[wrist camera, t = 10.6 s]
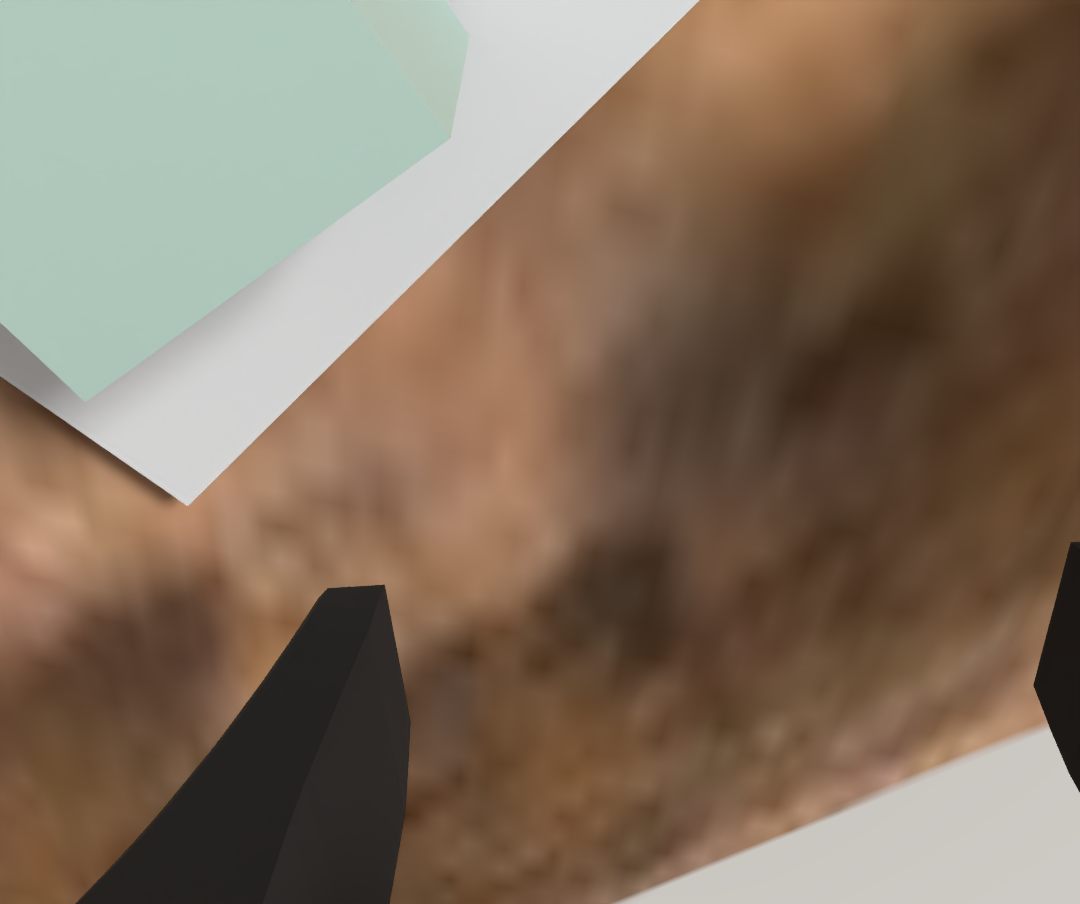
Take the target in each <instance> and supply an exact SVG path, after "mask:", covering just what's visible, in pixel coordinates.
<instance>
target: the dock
mask: <svg viewBox="0 0 1080 904" xmlns="http://www.w3.org/2000/svg"><path fill="white" fill-rule="evenodd" d="M445 1H446V2H447V4H448V5H449V6H450V8H451V9H452V11H453V12H454V14H455V15H456V17H457V18H458V20H459V21H460V23H461V24H462V26H463V27H464V28H465V30H466V31H467V33H468V34H469V36H470V37H469V42H468V47H467V53H466V58H465V63H464V69H463V74H462V79H461V85H460V90H459V95H458V101H457V106H456V111H455V117H454V122H453V127H452V133H451V138H450V139H449V140H448V141H446V142H445V143H443V144H442V145H441V146H439V147H438V148H437V149H435V150H434V151H432V152H431V153H430V154H428V155H427V156H426V157H424V158H423V159H421V160H420V161H419V162H417V163H416V164H414V165H413V166H412V167H410V168H409V169H408V170H406V171H405V172H403V173H402V174H401V175H399V176H398V177H397V178H395V179H394V180H392V181H391V182H390V183H388V184H387V185H385V186H384V187H383V188H381V189H380V190H379V191H377V192H376V193H374V194H373V195H372V196H370V197H369V198H367V199H366V200H365V201H363V202H362V203H361V204H359V205H358V206H356V207H355V208H354V209H352V210H351V211H350V212H348V213H347V214H345V215H344V216H343V217H341V218H340V219H338V220H337V221H336V222H334V223H333V224H332V225H330V226H329V227H327V228H326V229H325V230H323V231H322V232H320V233H319V234H318V235H316V236H315V237H314V238H312V239H311V240H309V241H308V242H307V243H305V244H304V245H303V246H301V247H300V248H298V249H297V250H296V251H294V252H293V253H291V254H290V255H289V256H287V257H286V258H285V259H283V260H282V261H280V262H279V263H278V264H276V265H275V266H274V267H272V268H271V269H269V270H268V271H267V272H265V273H264V274H262V275H261V276H260V277H258V278H257V279H256V280H254V281H253V282H251V283H250V284H249V285H247V286H246V287H244V288H243V289H242V290H240V291H239V292H238V293H236V294H235V295H233V296H232V297H231V298H229V299H228V300H227V301H225V302H224V303H222V304H221V305H220V306H218V307H217V308H215V309H214V310H213V311H211V312H210V313H209V314H207V315H206V316H204V317H203V318H202V319H200V320H199V321H197V322H196V323H195V324H193V325H192V326H191V327H189V328H188V329H186V330H185V331H184V332H182V333H181V334H180V335H178V336H177V337H175V338H174V339H173V340H171V341H170V342H168V343H167V344H166V345H164V346H163V347H162V348H160V349H159V350H157V351H156V352H155V353H153V354H152V355H150V356H149V357H148V358H146V359H145V360H144V361H142V362H141V363H139V364H138V365H137V366H135V367H134V368H133V369H131V370H130V371H128V372H127V373H126V374H124V375H123V376H121V377H120V378H119V379H117V380H116V381H115V382H113V383H112V384H110V385H109V386H108V387H106V388H105V389H104V390H102V391H101V392H99V393H98V394H97V395H95V396H94V397H92V398H91V399H90V400H88V401H87V402H85V401H83V400H82V399H81V398H80V397H79V396H78V395H77V394H76V393H75V392H74V391H73V390H72V389H71V388H70V387H69V386H67V385H66V384H65V383H64V382H63V381H62V380H61V379H60V378H59V377H58V376H57V375H56V374H55V373H54V372H53V371H51V370H50V369H49V368H48V367H47V366H46V365H45V364H44V363H43V362H42V361H41V360H40V359H39V358H38V357H37V356H35V355H34V354H33V353H32V352H31V351H30V350H29V349H28V348H27V347H26V346H25V345H24V344H23V343H22V342H21V341H19V340H18V339H17V338H16V337H15V336H14V335H13V334H12V333H11V332H10V331H9V330H8V329H7V328H6V327H5V326H3V325H2V324H1V323H0V376H1V377H2V378H4V379H5V380H7V381H8V382H9V383H11V384H12V385H14V386H15V387H17V388H18V389H20V390H21V391H22V392H24V393H25V394H27V395H28V396H30V397H31V398H32V399H34V400H35V401H37V402H38V403H40V404H41V405H43V406H44V407H45V408H47V409H48V410H50V411H51V412H53V413H54V414H56V415H57V416H58V417H60V418H61V419H63V420H64V421H66V422H67V423H69V424H70V425H71V426H73V427H74V428H76V429H77V430H79V431H80V432H82V433H83V434H84V435H86V436H87V437H89V438H90V439H92V440H93V441H94V442H96V443H97V444H99V445H100V446H102V447H103V448H105V449H106V450H107V451H109V452H110V453H112V454H113V455H115V456H116V457H118V458H119V459H120V460H122V461H123V462H125V463H126V464H128V465H129V466H131V467H132V468H133V469H135V470H136V471H138V472H139V473H141V474H142V475H144V476H145V477H146V478H148V479H149V480H151V481H152V482H154V483H155V484H156V485H158V486H159V487H161V488H162V489H164V490H165V491H167V492H168V493H169V494H171V495H172V496H174V497H175V498H177V499H178V500H180V501H181V502H182V503H184V504H185V505H187V506H188V505H189V504H190V503H191V502H192V501H193V500H194V499H195V498H197V497H198V496H199V495H200V494H201V493H202V492H203V491H204V490H205V489H206V488H207V487H208V486H209V485H210V484H211V483H212V482H213V481H214V480H215V479H216V478H217V477H218V476H219V475H220V474H221V473H222V472H223V471H224V470H225V469H226V468H227V467H228V466H229V465H230V464H231V463H232V462H233V461H234V460H235V459H236V458H237V457H238V456H239V455H240V454H241V453H242V452H243V451H244V450H245V449H246V448H247V447H248V446H249V445H250V444H251V443H252V442H253V441H254V440H255V439H256V438H257V437H258V436H259V435H260V434H261V433H262V432H263V431H264V430H265V429H266V428H267V427H268V426H269V425H270V424H271V423H272V422H273V421H274V420H275V419H276V418H277V417H278V416H279V415H280V414H281V413H282V412H283V411H284V410H285V409H286V408H288V407H289V406H290V405H291V404H292V403H293V402H294V401H295V400H296V399H297V398H298V397H299V396H300V395H301V394H302V393H303V392H304V391H305V390H306V389H307V388H308V387H309V386H310V385H311V384H312V383H313V382H314V381H315V380H316V379H317V378H318V377H319V376H320V375H321V374H322V373H323V372H324V371H325V370H326V369H327V368H328V367H329V366H330V365H331V364H332V363H333V362H334V361H335V360H336V359H337V358H338V357H339V356H340V355H341V354H342V353H343V352H344V351H345V350H346V349H347V348H348V347H349V346H350V345H351V344H352V343H353V342H354V341H355V340H356V339H357V338H358V337H359V336H360V335H361V334H362V333H363V332H364V331H365V330H366V329H367V328H368V327H369V326H370V325H371V324H372V323H373V322H374V321H375V320H376V319H378V318H379V317H380V316H381V315H382V314H383V313H384V312H385V311H386V310H387V309H388V308H389V307H390V306H391V305H392V304H393V303H394V302H395V301H396V300H397V299H398V298H399V297H400V296H401V295H402V294H403V293H404V292H405V291H406V290H407V289H408V288H409V287H410V286H411V285H412V284H413V283H414V282H415V281H416V280H417V279H418V278H419V277H420V276H421V275H422V274H423V273H424V272H425V271H426V270H427V269H428V268H429V267H430V266H431V265H432V264H433V263H434V262H435V261H436V260H437V259H438V258H439V257H440V256H441V255H442V254H443V253H444V252H445V251H446V250H447V249H448V248H449V247H450V246H451V245H452V244H453V243H454V242H455V241H456V240H457V239H458V238H459V237H460V236H461V235H462V234H463V233H464V232H465V231H466V230H467V229H469V228H470V227H471V226H472V225H473V224H474V223H475V222H476V221H477V220H478V219H479V218H480V217H481V216H482V215H483V214H484V213H485V212H486V211H487V210H488V209H489V208H490V207H491V206H492V205H493V204H494V203H495V202H496V201H497V200H498V199H499V198H500V197H501V196H502V195H503V194H504V193H505V192H506V191H507V190H508V189H509V188H510V187H511V186H512V185H513V184H514V183H515V182H516V181H517V180H518V179H519V178H520V177H521V176H522V175H523V174H524V173H525V172H526V171H527V170H528V169H529V168H530V167H531V166H532V165H533V164H534V163H535V162H536V161H537V160H538V159H539V158H540V157H541V156H542V155H543V154H544V153H545V152H546V151H547V150H548V149H549V148H550V147H551V146H552V145H553V144H554V143H555V142H556V141H557V140H559V139H560V138H561V137H562V136H563V135H564V134H565V133H566V132H567V131H568V130H569V129H570V128H571V127H572V126H573V125H574V124H575V123H576V122H577V121H578V120H579V119H580V118H581V117H582V116H583V115H584V114H585V113H586V112H587V111H588V110H589V109H590V108H591V107H592V106H593V105H594V104H595V103H596V102H597V101H598V100H599V99H600V98H601V97H602V96H603V95H604V94H605V93H606V92H607V91H608V90H609V89H610V88H611V87H612V86H613V85H614V84H615V83H616V82H617V81H618V80H619V79H620V78H621V77H622V76H623V75H624V74H625V73H626V72H627V71H628V70H629V69H630V68H631V67H632V66H633V65H634V64H635V63H636V62H637V61H638V60H639V59H640V58H641V57H642V56H643V55H644V54H645V53H646V52H647V51H648V50H650V49H651V48H652V47H653V46H654V45H655V44H656V43H657V42H658V41H659V40H660V39H661V38H662V37H663V36H664V35H665V34H666V33H667V32H668V31H669V30H670V29H671V28H672V27H673V26H674V25H675V24H676V23H677V22H678V21H679V20H680V19H681V18H682V17H683V16H684V15H685V14H686V13H687V12H688V11H689V10H690V9H691V8H692V7H693V6H694V5H695V4H696V3H697V2H698V1H699V0H445Z"/></svg>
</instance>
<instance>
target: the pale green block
mask: <svg viewBox="0 0 1080 904" xmlns="http://www.w3.org/2000/svg"><path fill="white" fill-rule="evenodd" d="M469 37H470V36H469V34H468V33H467V31H466V30H465V28H464V27H463V26H462V24H461V23H460V21H459V20H458V18H457V17H456V15H455V14H454V12H453V11H452V9H451V8H450V6H449V5H448V4H447V2H446V1H445V0H0V323H1V324H2V325H3V326H5V327H6V328H7V329H8V330H9V331H10V332H11V333H12V334H13V335H14V336H15V337H16V338H17V339H18V340H19V341H21V342H22V343H23V344H24V345H25V346H26V347H27V348H28V349H29V350H30V351H31V352H32V353H33V354H34V355H35V356H37V357H38V358H39V359H40V360H41V361H42V362H43V363H44V364H45V365H46V366H47V367H48V368H49V369H50V370H51V371H53V372H54V373H55V374H56V375H57V376H58V377H59V378H60V379H61V380H62V381H63V382H64V383H65V384H66V385H67V386H69V387H70V388H71V389H72V390H73V391H74V392H75V393H76V394H77V395H78V396H79V397H80V398H81V399H82V400H83V401H85V402H87V401H88V400H90V399H91V398H92V397H94V396H95V395H97V394H98V393H99V392H101V391H102V390H104V389H105V388H106V387H108V386H109V385H110V384H112V383H113V382H115V381H116V380H117V379H119V378H120V377H121V376H123V375H124V374H126V373H127V372H128V371H130V370H131V369H133V368H134V367H135V366H137V365H138V364H139V363H141V362H142V361H144V360H145V359H146V358H148V357H149V356H150V355H152V354H153V353H155V352H156V351H157V350H159V349H160V348H162V347H163V346H164V345H166V344H167V343H168V342H170V341H171V340H173V339H174V338H175V337H177V336H178V335H180V334H181V333H182V332H184V331H185V330H186V329H188V328H189V327H191V326H192V325H193V324H195V323H196V322H197V321H199V320H200V319H202V318H203V317H204V316H206V315H207V314H209V313H210V312H211V311H213V310H214V309H215V308H217V307H218V306H220V305H221V304H222V303H224V302H225V301H227V300H228V299H229V298H231V297H232V296H233V295H235V294H236V293H238V292H239V291H240V290H242V289H243V288H244V287H246V286H247V285H249V284H250V283H251V282H253V281H254V280H256V279H257V278H258V277H260V276H261V275H262V274H264V273H265V272H267V271H268V270H269V269H271V268H272V267H274V266H275V265H276V264H278V263H279V262H280V261H282V260H283V259H285V258H286V257H287V256H289V255H290V254H291V253H293V252H294V251H296V250H297V249H298V248H300V247H301V246H303V245H304V244H305V243H307V242H308V241H309V240H311V239H312V238H314V237H315V236H316V235H318V234H319V233H320V232H322V231H323V230H325V229H326V228H327V227H329V226H330V225H332V224H333V223H334V222H336V221H337V220H338V219H340V218H341V217H343V216H344V215H345V214H347V213H348V212H350V211H351V210H352V209H354V208H355V207H356V206H358V205H359V204H361V203H362V202H363V201H365V200H366V199H367V198H369V197H370V196H372V195H373V194H374V193H376V192H377V191H379V190H380V189H381V188H383V187H384V186H385V185H387V184H388V183H390V182H391V181H392V180H394V179H395V178H397V177H398V176H399V175H401V174H402V173H403V172H405V171H406V170H408V169H409V168H410V167H412V166H413V165H414V164H416V163H417V162H419V161H420V160H421V159H423V158H424V157H426V156H427V155H428V154H430V153H431V152H432V151H434V150H435V149H437V148H438V147H439V146H441V145H442V144H443V143H445V142H446V141H448V140H449V139H450V138H451V133H452V127H453V122H454V117H455V111H456V106H457V101H458V95H459V90H460V85H461V79H462V74H463V69H464V63H465V58H466V53H467V47H468V42H469Z"/></svg>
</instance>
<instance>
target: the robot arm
mask: <svg viewBox="0 0 1080 904" xmlns="http://www.w3.org/2000/svg"><path fill="white" fill-rule="evenodd" d="M1034 688H1035V690H1036V693H1037V696H1038V698H1039V701H1040V703H1041V706H1042V709H1043V711H1044V714H1045V716H1046V719H1047V721H1048V724H1049V727H1050V729H1051V732H1052V734H1053V737H1054V739H1055V741H1056V744H1057V746H1058V748H1059V751H1060V753H1061V755H1062V758H1063V760H1064V762H1065V765H1066V767H1067V769H1068V772H1069V774H1070V776H1071V777H1072V779H1073V781H1074V783H1075V785H1076V786H1077V788H1078V790H1079V792H1080V542H1071V544H1070V547H1069V551H1068V555H1067V559H1066V563H1065V567H1064V570H1063V574H1062V578H1061V582H1060V586H1059V590H1058V593H1057V597H1056V601H1055V605H1054V609H1053V612H1052V616H1051V620H1050V624H1049V628H1048V632H1047V635H1046V639H1045V643H1044V647H1043V651H1042V655H1041V658H1040V662H1039V666H1038V670H1037V674H1036V677H1035V681H1034ZM409 741H410V717H409V711H408V706H407V701H406V695H405V690H404V685H403V679H402V674H401V669H400V664H399V658H398V653H397V648H396V642H395V637H394V632H393V626H392V621H391V616H390V610H389V605H388V600H387V595H386V589H385V585H374V586H357V587H341V588H328V589H327V590H326V591H325V592H324V593H323V594H322V595H321V596H320V597H319V598H318V600H317V601H316V603H315V604H314V606H313V608H312V609H311V611H310V612H309V614H308V615H307V617H306V618H305V620H304V621H303V623H302V624H301V626H300V627H299V629H298V630H297V632H296V633H295V635H294V636H293V638H292V639H291V641H290V642H289V644H288V645H287V647H286V648H285V650H284V651H283V653H282V654H281V656H280V657H279V658H278V660H277V661H276V663H275V664H274V666H273V667H272V669H271V670H270V671H269V673H268V674H267V676H266V677H265V679H264V680H263V681H262V683H261V684H260V686H259V687H258V688H257V690H256V691H255V692H254V694H253V695H252V697H251V698H250V699H249V701H248V702H247V703H246V705H245V706H244V707H243V709H242V710H241V711H240V713H239V714H238V715H237V717H236V718H235V719H234V721H233V722H232V724H231V725H230V726H229V728H228V729H227V730H226V732H225V733H224V734H223V736H222V737H221V738H220V740H219V741H218V742H217V744H216V745H215V746H214V747H213V749H212V750H211V751H210V752H209V754H208V755H207V756H206V757H205V759H204V760H203V761H202V762H201V763H200V765H199V766H198V767H197V768H196V770H195V771H194V772H193V773H192V774H191V776H190V777H189V778H188V779H187V780H186V782H185V783H184V784H183V785H182V787H181V788H180V789H179V790H178V791H177V793H176V794H175V795H174V796H173V798H172V799H171V800H170V801H169V802H168V804H167V805H166V806H165V807H164V808H163V810H162V811H161V812H160V813H159V814H158V816H157V817H156V818H155V819H154V820H153V821H152V822H151V824H150V825H149V826H148V827H147V828H146V829H145V830H144V831H143V833H142V834H141V835H140V836H139V837H138V838H137V839H136V840H135V842H134V843H133V844H132V845H131V846H130V847H129V848H128V849H127V850H126V851H125V852H124V854H123V855H122V856H121V857H120V858H119V859H118V860H117V861H116V862H115V863H114V864H113V865H112V866H111V867H110V869H109V870H108V871H107V872H106V873H105V874H104V875H103V876H102V877H101V878H100V879H99V880H98V881H97V882H96V883H95V884H94V885H93V886H92V887H91V888H90V889H89V890H88V892H87V893H86V894H85V895H84V896H83V897H82V898H81V899H80V900H79V901H78V902H77V903H76V904H389V903H390V897H391V892H392V886H393V880H394V874H395V869H396V863H397V857H398V851H399V846H400V840H401V834H402V828H403V822H404V816H405V808H406V793H407V778H408V761H409Z"/></svg>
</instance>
